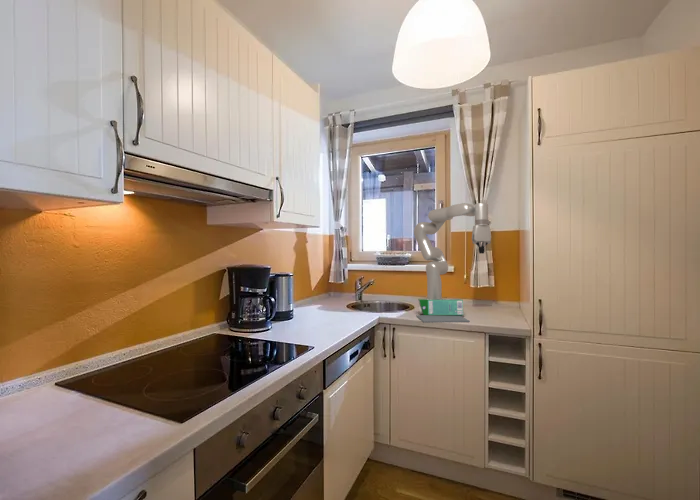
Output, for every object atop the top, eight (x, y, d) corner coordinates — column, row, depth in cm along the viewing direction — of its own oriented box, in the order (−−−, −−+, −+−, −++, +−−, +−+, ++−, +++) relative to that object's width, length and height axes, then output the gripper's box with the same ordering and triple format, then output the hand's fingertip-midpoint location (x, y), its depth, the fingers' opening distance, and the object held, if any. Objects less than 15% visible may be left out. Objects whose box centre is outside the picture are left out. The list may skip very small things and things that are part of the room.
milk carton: (460, 314, 194) (418, 313, 197) (459, 299, 195) (417, 298, 198) (463, 315, 185) (419, 315, 188) (462, 299, 186) (419, 299, 189)
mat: (416, 316, 188) (416, 315, 188) (458, 316, 189) (458, 314, 189) (423, 322, 172) (423, 320, 172) (469, 322, 173) (469, 320, 173)
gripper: (491, 223, 199) (491, 253, 199) (466, 223, 199) (467, 253, 199) (496, 222, 191) (496, 253, 191) (471, 222, 191) (471, 253, 191)
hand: (481, 253), depth 195 cm, fingers closed
